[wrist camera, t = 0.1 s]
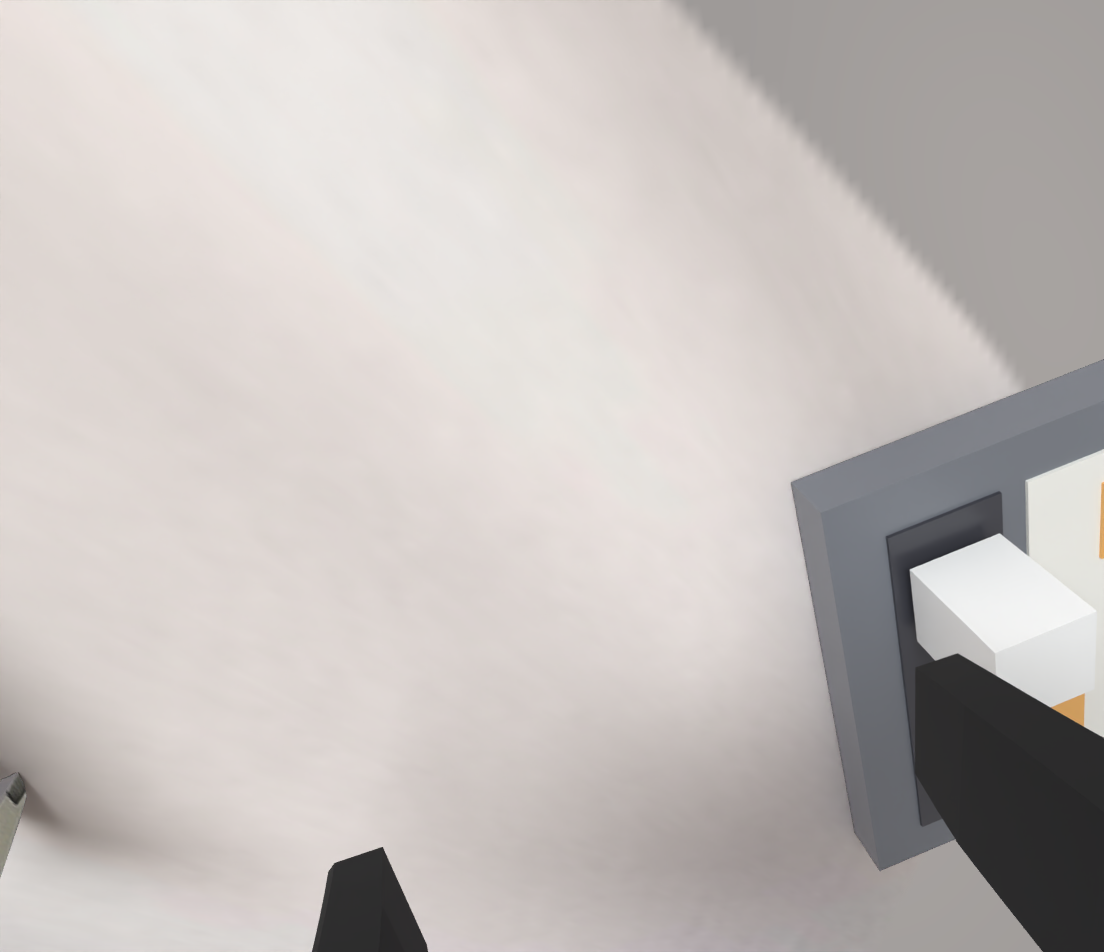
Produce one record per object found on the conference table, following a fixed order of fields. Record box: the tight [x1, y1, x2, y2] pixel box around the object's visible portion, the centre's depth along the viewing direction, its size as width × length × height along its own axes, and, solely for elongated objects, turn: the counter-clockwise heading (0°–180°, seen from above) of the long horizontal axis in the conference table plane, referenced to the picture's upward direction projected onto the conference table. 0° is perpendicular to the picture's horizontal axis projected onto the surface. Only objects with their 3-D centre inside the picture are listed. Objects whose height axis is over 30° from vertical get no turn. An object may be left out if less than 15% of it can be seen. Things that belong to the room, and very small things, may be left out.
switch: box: [910, 533, 1097, 707], centre depth 22 cm, size 2×2×3 cm
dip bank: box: [791, 359, 1104, 871], centre depth 26 cm, size 14×14×2 cm
